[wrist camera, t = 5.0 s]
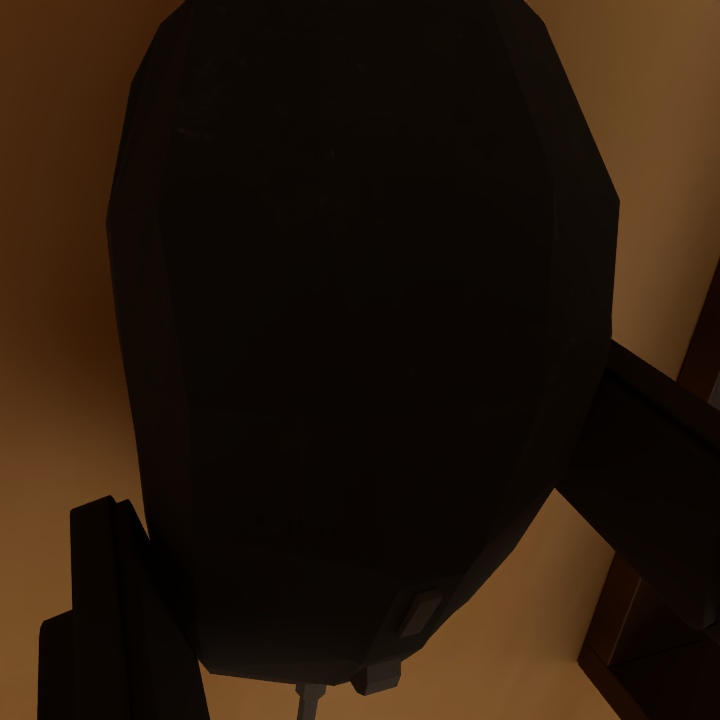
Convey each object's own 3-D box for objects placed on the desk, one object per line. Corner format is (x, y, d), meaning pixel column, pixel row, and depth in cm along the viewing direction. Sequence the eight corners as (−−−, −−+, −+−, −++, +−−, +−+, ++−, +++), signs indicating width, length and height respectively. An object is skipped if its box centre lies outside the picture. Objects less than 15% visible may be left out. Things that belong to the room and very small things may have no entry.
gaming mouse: (151, 770, 14) (180, 1014, 11) (76, -106, 7) (96, -168, 4) (429, 687, 16) (523, 868, 13) (577, -38, 9) (855, -40, 6)
